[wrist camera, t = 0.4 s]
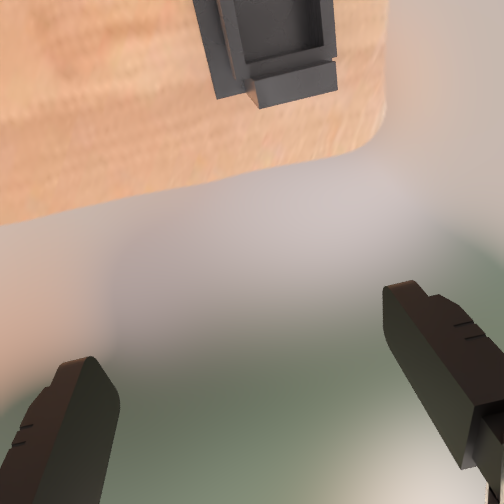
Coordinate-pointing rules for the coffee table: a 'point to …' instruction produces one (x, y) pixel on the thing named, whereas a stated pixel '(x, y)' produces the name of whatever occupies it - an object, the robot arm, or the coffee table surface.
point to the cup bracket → (269, 48)
